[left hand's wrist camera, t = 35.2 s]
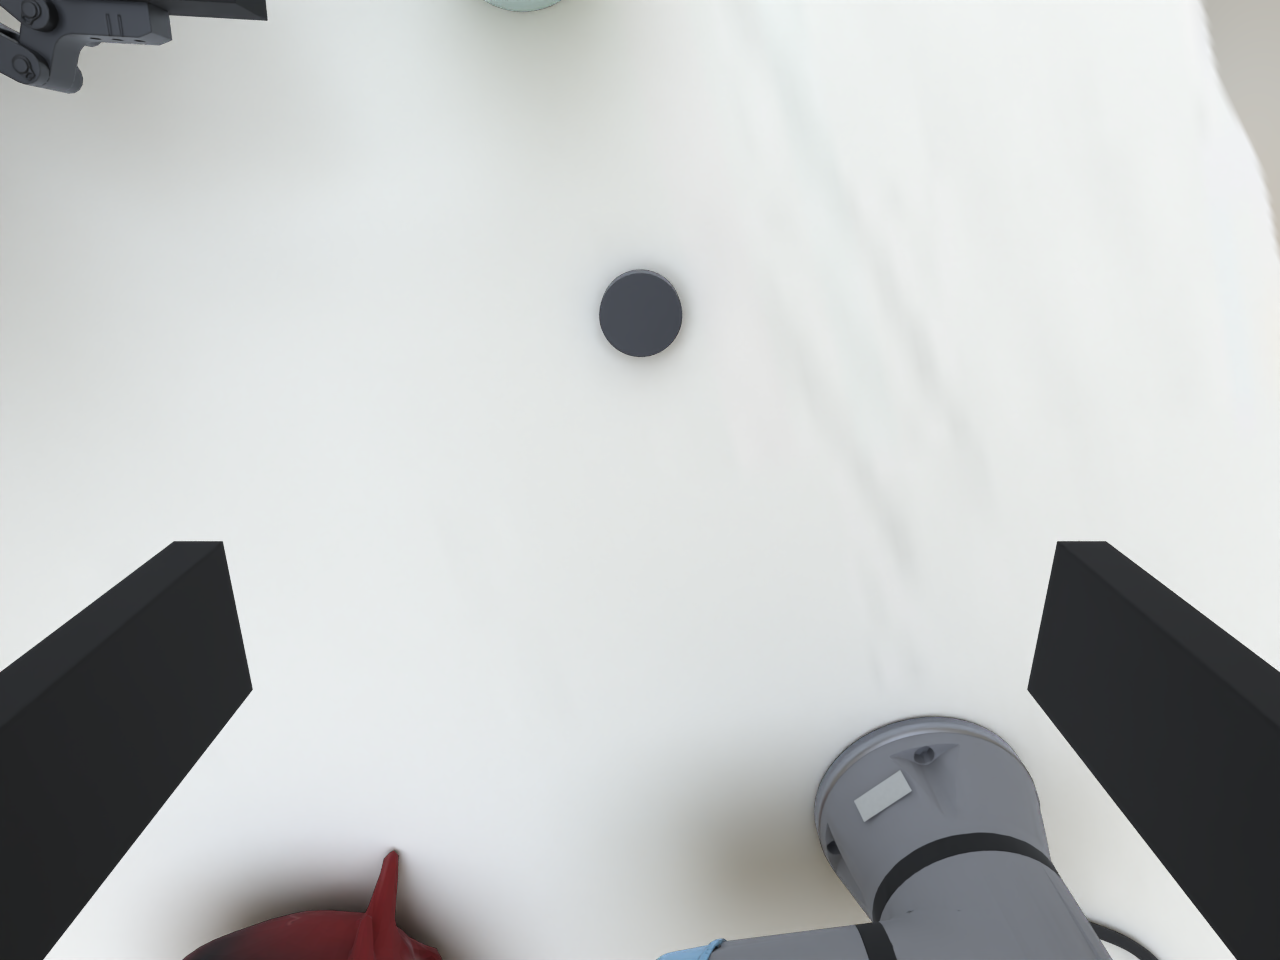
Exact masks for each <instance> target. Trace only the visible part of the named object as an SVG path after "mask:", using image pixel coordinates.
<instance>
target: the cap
mask: <svg viewBox="0 0 1280 960" xmlns="http://www.w3.org/2000/svg"><path fill="white" fill-rule="evenodd" d="M599 319H600V325H601V328H602V331H603V333H604V335H605V337H606V338H607V340H608V341H609V342H610V344H611V345H612V346H614V347H615V348H616V349H617V350H619V351H621V352H622V353H625V354H627V355H631V356H636V357H646V356H651V355H654V354H657V353H659V352H661V351H663V350H664V349H665V348H667V347H668V346H669V345H670V344H671V343H672V342H673V340H674V339H675V338H676V336H677V334H678V332H679V330H680V326H681V322H682V308H681V303H680V300H679V297H678V295H677V292H676V291H675V289H674V287H673V286H672V285H671V283H670V282H669V281H668V280H667V279H666V278H664V277H663V276H661V275H660V274H658V273H655V272H653V271H649V270H633V271H629V272H626V273H624V274H622V275H620V276H619V277H617V278H616V279H615V280H614V281H613V282H612V283H611V284H610V285H609V286H608V288H607V289H606V291H605V293H604V296H603V299H602V302H601V305H600V312H599Z"/></svg>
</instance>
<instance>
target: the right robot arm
mask: <svg viewBox="0 0 1280 960" xmlns="http://www.w3.org/2000/svg"><path fill="white" fill-rule="evenodd" d="M0 6H2V7H3V8H4V9H5V10H6V11H8V12H9V13H10V14H11V15H12V16H14V17H15V18H16V19H17V20H18V21H20V22H21V27H20V33H18V32H16V31H15V30H13V29H11V28H9V27H7V26H5V25H4V24H2V23H0V72H1V73H2V74H4V75H6V76H8V77H10V78H12V79H14V80H16V81H17V82H20V83H23V84H26V85H31V86H36V87H40V88H45V89H50V90H55V91H59V92H64V93H75V92H77V91H79V90H80V88H81V86H82V83H83V77H82V74H81V71H80V70H79V68H78V67H77V63H78V57H79V54H80V51H81V49H82V48H83V47H84V46H90V47H94V46H97V45H99V44H100V43H101V42H109V43H127V44H145V45H161V44H164V43H166V42H169V41H171V40H172V35H171V27H170V20H169V15H177V16H195V17H212V18H230V19H247V20H265V21H267V10H266V0H0Z"/></svg>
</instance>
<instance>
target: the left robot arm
mask: <svg viewBox="0 0 1280 960" xmlns="http://www.w3.org/2000/svg"><path fill="white" fill-rule="evenodd" d="M252 690H253V689H252V684H251V679H250V674H249V669H248V664H247V659H246V654H245V649H244V644H243V639H242V634H241V629H240V624H239V620H238V615H237V610H236V605H235V600H234V595H233V590H232V585H231V580H230V575H229V570H228V565H227V560H226V555H225V550H224V545H223V541H174V542H173V543H171V544H170V545H169V546H167V547H166V548H165V549H163V550H162V551H161V552H159V553H158V554H157V555H155V556H154V557H153V558H151V559H150V560H149V561H147V562H146V563H145V564H143V565H142V566H141V567H139V568H138V569H137V570H135V571H134V572H133V573H131V574H130V575H129V576H127V577H126V578H125V579H123V580H122V581H121V582H119V583H118V584H117V585H115V586H114V587H113V588H111V589H110V590H109V591H107V592H106V593H105V594H103V595H102V596H101V597H99V598H98V599H97V600H96V601H94V602H93V603H92V604H90V605H89V606H88V607H86V608H85V609H84V610H82V611H81V612H80V613H78V614H77V615H76V616H74V617H73V618H72V619H70V620H69V621H68V622H66V623H65V624H64V625H62V626H61V627H60V628H58V629H57V630H56V631H54V632H53V633H52V634H50V635H49V636H48V637H46V638H45V639H44V640H42V641H41V642H40V643H38V644H37V645H36V646H34V647H33V648H32V649H30V650H29V651H28V652H26V653H25V654H24V655H22V656H21V657H20V658H18V659H17V660H16V661H15V662H13V663H12V664H11V665H9V666H8V667H7V668H5V669H4V670H3V671H1V672H0V960H43V959H44V958H45V957H46V955H47V954H48V953H49V952H50V950H51V949H52V948H53V946H54V945H55V944H56V942H57V941H58V940H59V939H60V937H61V936H62V935H63V933H64V932H65V931H66V930H67V928H68V927H69V926H70V924H71V923H72V922H73V921H74V919H75V918H76V917H77V915H78V914H79V913H80V912H81V910H82V909H83V908H84V906H85V905H86V904H87V903H88V901H89V900H90V899H91V897H92V896H93V895H94V894H95V892H96V891H97V890H98V888H99V887H100V886H101V884H102V883H103V882H104V881H105V879H106V878H107V877H108V875H109V874H110V873H111V872H112V870H113V869H114V868H115V866H116V865H117V864H118V863H119V861H120V860H121V859H122V857H123V856H124V855H125V854H126V852H127V851H128V850H129V848H130V847H131V846H132V845H133V843H134V842H135V841H136V839H137V838H138V837H139V836H140V834H141V833H142V832H143V830H144V829H145V828H146V826H147V825H148V824H149V823H150V821H151V820H152V819H153V817H154V816H155V815H156V814H157V812H158V811H159V810H160V808H161V807H162V806H163V805H164V803H165V802H166V801H167V799H168V798H169V797H170V796H171V794H172V793H173V792H174V790H175V789H176V788H177V787H178V785H179V784H180V783H181V781H182V780H183V779H184V778H185V776H186V775H187V774H188V772H189V771H190V770H191V768H192V767H193V766H194V765H195V763H196V762H197V761H198V759H199V758H200V757H201V756H202V754H203V753H204V752H205V750H206V749H207V748H208V747H209V745H210V744H211V743H212V741H213V740H214V739H215V738H216V736H217V735H218V734H219V732H220V731H221V730H222V729H223V727H224V726H225V725H226V723H227V722H228V721H229V720H230V718H231V717H232V716H233V714H234V713H235V712H236V710H237V709H238V708H239V707H240V705H241V704H242V703H243V701H244V700H245V699H246V698H247V696H248V695H249V694H250V692H251V691H252ZM1027 690H1028V691H1029V692H1030V694H1031V695H1032V696H1033V698H1034V699H1035V700H1036V701H1037V703H1038V704H1039V705H1040V707H1041V708H1042V709H1043V710H1044V712H1045V713H1046V714H1047V716H1048V717H1049V718H1050V720H1051V721H1052V722H1053V723H1054V725H1055V726H1056V727H1057V729H1058V730H1059V731H1060V732H1061V734H1062V735H1063V736H1064V738H1065V739H1066V740H1067V741H1068V743H1069V744H1070V745H1071V747H1072V748H1073V749H1074V750H1075V752H1076V753H1077V754H1078V756H1079V757H1080V758H1081V759H1082V761H1083V762H1084V763H1085V765H1086V766H1087V767H1088V768H1089V770H1090V771H1091V772H1092V774H1093V775H1094V776H1095V778H1096V779H1097V780H1098V781H1099V783H1100V784H1101V785H1102V787H1103V788H1104V789H1105V790H1106V792H1107V793H1108V794H1109V796H1110V797H1111V798H1112V799H1113V801H1114V802H1115V803H1116V805H1117V806H1118V807H1119V808H1120V810H1121V811H1122V812H1123V814H1124V815H1125V816H1126V817H1127V819H1128V820H1129V821H1130V823H1131V824H1132V825H1133V826H1134V828H1135V829H1136V830H1137V832H1138V833H1139V834H1140V836H1141V837H1142V838H1143V839H1144V841H1145V842H1146V843H1147V845H1148V846H1149V847H1150V848H1151V850H1152V851H1153V852H1154V854H1155V855H1156V856H1157V857H1158V859H1159V860H1160V861H1161V863H1162V864H1163V865H1164V866H1165V868H1166V869H1167V870H1168V872H1169V873H1170V874H1171V875H1172V877H1173V878H1174V879H1175V881H1176V882H1177V883H1178V884H1179V886H1180V887H1181V888H1182V890H1183V891H1184V892H1185V894H1186V895H1187V896H1188V897H1189V899H1190V900H1191V901H1192V903H1193V904H1194V905H1195V906H1196V908H1197V909H1198V910H1199V912H1200V913H1201V914H1202V915H1203V917H1204V918H1205V919H1206V921H1207V922H1208V923H1209V924H1210V926H1211V927H1212V928H1213V930H1214V931H1215V932H1216V933H1217V935H1218V936H1219V937H1220V939H1221V940H1222V941H1223V942H1224V944H1225V945H1226V946H1227V948H1228V949H1229V950H1230V952H1231V953H1232V954H1233V955H1234V957H1235V958H1236V959H1237V960H1280V672H1279V671H1277V670H1276V669H1275V668H1273V667H1272V666H1271V665H1269V664H1268V663H1267V662H1265V661H1264V660H1263V659H1262V658H1260V657H1259V656H1258V655H1256V654H1255V653H1254V652H1252V651H1251V650H1250V649H1248V648H1247V647H1246V646H1244V645H1243V644H1242V643H1240V642H1239V641H1238V640H1236V639H1235V638H1234V637H1232V636H1231V635H1230V634H1228V633H1227V632H1226V631H1224V630H1223V629H1222V628H1220V627H1219V626H1218V625H1216V624H1215V623H1214V622H1212V621H1211V620H1210V619H1208V618H1207V617H1206V616H1204V615H1203V614H1202V613H1200V612H1199V611H1198V610H1196V609H1195V608H1194V607H1192V606H1191V605H1190V604H1188V603H1187V602H1186V601H1184V600H1183V599H1182V598H1181V597H1179V596H1178V595H1177V594H1175V593H1174V592H1173V591H1171V590H1170V589H1169V588H1167V587H1166V586H1165V585H1163V584H1162V583H1161V582H1159V581H1158V580H1157V579H1155V578H1154V577H1153V576H1151V575H1150V574H1149V573H1147V572H1146V571H1145V570H1143V569H1142V568H1141V567H1139V566H1138V565H1137V564H1135V563H1134V562H1133V561H1131V560H1130V559H1129V558H1127V557H1126V556H1125V555H1123V554H1122V553H1121V552H1119V551H1118V550H1117V549H1115V548H1114V547H1113V546H1111V545H1110V544H1109V543H1107V542H1106V541H1057V545H1056V550H1055V555H1054V560H1053V565H1052V570H1051V575H1050V580H1049V585H1048V590H1047V595H1046V600H1045V605H1044V610H1043V615H1042V620H1041V624H1040V629H1039V634H1038V639H1037V644H1036V649H1035V654H1034V659H1033V664H1032V669H1031V674H1030V679H1029V684H1028V689H1027ZM814 816H815V824H816V828H817V832H818V835H819V839H820V843H821V846H822V849H823V852H824V854H825V856H826V858H827V860H828V862H829V863H830V865H831V867H832V868H833V870H834V872H835V873H836V874H837V876H838V877H839V878H840V880H841V881H842V882H843V884H844V885H845V886H846V888H847V889H848V890H849V892H850V893H851V894H852V896H853V897H854V898H855V900H856V901H857V902H858V904H859V905H860V906H861V908H862V909H863V910H864V912H865V913H866V914H867V916H868V917H869V918H870V920H871V921H872V923H865V924H858V925H850V926H842V927H834V928H827V929H819V930H811V931H803V932H795V933H787V934H779V935H771V936H763V937H756V938H748V939H740V940H732V941H726V940H725V939H717V940H714V941H712V942H711V943H710V944H709V945H706V946H701V947H696V948H691V949H686V950H680V951H675V952H670V953H667V954H664V955H662V956H661V957H659V958H658V959H656V960H1112V958H1111V957H1110V955H1109V953H1108V952H1107V950H1106V949H1105V947H1104V945H1103V944H1102V942H1101V941H1100V939H1101V940H1104V941H1106V942H1109V943H1112V944H1114V945H1116V946H1119V947H1121V948H1123V949H1125V950H1127V951H1129V952H1130V953H1132V954H1133V955H1135V956H1136V957H1138V958H1139V959H1140V960H1158V959H1157V958H1156V957H1155V956H1154V955H1153V954H1152V953H1150V952H1149V951H1148V950H1147V949H1145V948H1144V947H1143V946H1141V945H1139V944H1138V943H1136V942H1135V941H1133V940H1131V939H1130V938H1128V937H1126V936H1124V935H1122V934H1120V933H1118V932H1115V931H1113V930H1110V929H1108V928H1105V927H1103V926H1100V925H1097V924H1094V923H1092V922H1089V921H1088V920H1087V918H1086V917H1085V915H1084V914H1083V912H1082V910H1081V909H1080V907H1079V906H1078V904H1077V902H1076V901H1075V899H1074V898H1073V896H1072V894H1071V893H1070V891H1069V890H1068V888H1067V886H1066V885H1065V883H1064V882H1063V880H1062V879H1061V877H1060V875H1059V874H1058V872H1057V871H1056V869H1055V867H1054V865H1053V864H1052V862H1051V859H1050V853H1049V848H1048V843H1047V838H1046V833H1045V829H1044V824H1043V820H1042V816H1041V812H1040V802H1039V798H1038V794H1037V791H1036V788H1035V785H1034V782H1033V780H1032V778H1031V776H1030V774H1029V772H1028V771H1027V769H1026V768H1025V766H1024V765H1023V763H1022V762H1021V760H1020V759H1019V757H1018V756H1017V754H1016V753H1015V752H1014V750H1013V749H1012V748H1011V747H1010V746H1009V745H1008V744H1007V743H1006V742H1005V741H1004V740H1003V739H1002V738H1000V737H999V736H998V735H996V734H995V733H993V732H991V731H990V730H988V729H986V728H984V727H981V726H979V725H977V724H974V723H971V722H967V721H964V720H959V719H954V718H945V717H924V718H915V719H909V720H904V721H900V722H896V723H893V724H890V725H887V726H884V727H882V728H879V729H877V730H875V731H873V732H871V733H869V734H867V735H865V736H864V737H862V738H860V739H859V740H857V741H856V742H855V743H853V744H852V745H851V746H849V747H848V748H847V749H846V750H845V751H843V752H842V753H841V755H840V756H839V757H838V758H837V759H836V760H835V761H834V762H833V763H832V765H831V766H830V767H829V769H828V770H827V772H826V773H825V775H824V777H823V779H822V781H821V783H820V786H819V788H818V791H817V795H816V800H815V809H814Z"/></svg>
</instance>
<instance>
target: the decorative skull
mask: <svg viewBox="0 0 1280 960" xmlns="http://www.w3.org/2000/svg"><path fill="white" fill-rule="evenodd" d="M397 882H398V854H397V853H396V852H395V851H392V852H390V853H389V854H388V855H387V856H386V857H385V858H384V861H383V865H382V869H381V873H380V876H379V878H378V881H377V884H376V887H375V889H374V892H373V895H372V898H371V900H370V903H369V906H368V908H367V910H366V912H365V913H361V912H348V911H334V910H318V911H303V912H298V913H293V914H289V915H286V916H282V917H278V918H274V919H271V920H267V921H264V922H261V923H259V924H256V925H253V926H250V927H247V928H244V929H241V930H239V931H236V932H233V933H230V934H228V935H225V936H223V937H220V938H217V939H215V940H213V941H211V942H209V943H207V944H205V945H203V946H201V947H199V948H198V949H196V950H195V951H193V952H192V953H190V954H189V955H187V956H186V957H185V958H184V959H183V960H442V959H441V956H440V954H439V952H438V950H437V949H436V948H433V947H430V946H428V945H425V944H422V943H420V942H418V941H417V940H415V939H413V938H411V937H409V936H408V935H407V934H406V933H405V932H404V931H403V930H402V929H400V928H398V927H397V926H396V921H395V908H396V895H397Z"/></svg>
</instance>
